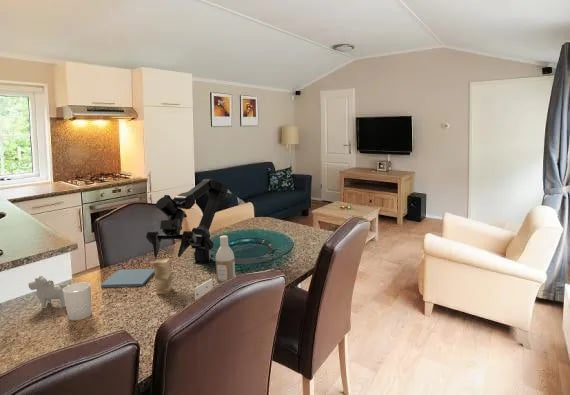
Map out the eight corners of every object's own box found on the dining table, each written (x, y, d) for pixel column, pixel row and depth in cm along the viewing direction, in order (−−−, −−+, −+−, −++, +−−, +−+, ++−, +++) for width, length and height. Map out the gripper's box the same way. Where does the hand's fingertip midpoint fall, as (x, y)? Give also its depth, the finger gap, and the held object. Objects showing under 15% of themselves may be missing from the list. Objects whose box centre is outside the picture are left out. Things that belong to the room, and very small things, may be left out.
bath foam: (214, 290, 141) (210, 238, 137) (222, 282, 147) (219, 233, 144) (230, 291, 139) (228, 239, 135) (238, 284, 145) (236, 234, 142)
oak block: (172, 288, 143) (169, 258, 141) (168, 293, 139) (166, 262, 137) (160, 288, 143) (157, 258, 141) (156, 293, 139) (153, 262, 137)
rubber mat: (156, 270, 162) (156, 268, 161) (142, 286, 146) (142, 283, 146) (119, 271, 162) (118, 269, 161) (101, 287, 146) (101, 284, 146)
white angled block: (224, 301, 125) (210, 280, 124) (200, 315, 127) (186, 293, 126) (227, 297, 129) (213, 275, 128) (203, 310, 131) (189, 289, 130)
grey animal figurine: (37, 302, 134) (33, 274, 132) (74, 301, 134) (70, 273, 132) (28, 309, 128) (23, 280, 126) (66, 308, 129) (62, 279, 127)
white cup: (99, 311, 126) (95, 283, 124) (79, 323, 118) (75, 293, 116) (81, 308, 128) (77, 281, 126) (60, 319, 121) (56, 290, 119)
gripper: (145, 211, 147) (135, 247, 138) (192, 211, 146) (184, 247, 137) (155, 225, 156) (146, 260, 147) (199, 225, 155) (192, 260, 146)
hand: (166, 256), depth 144 cm, fingers open, 9 cm apart
